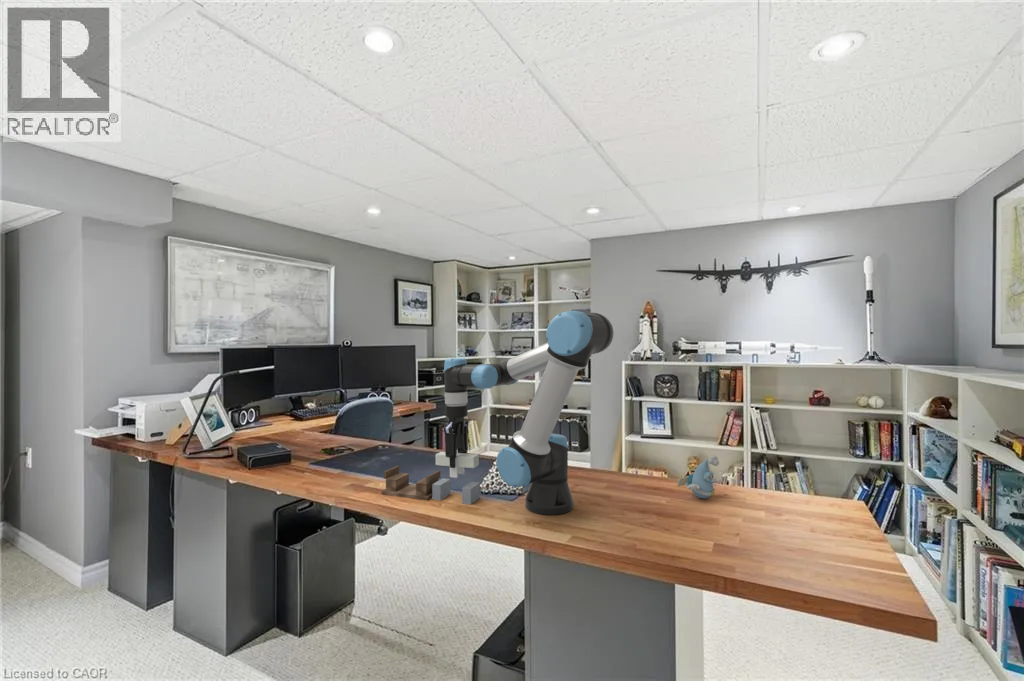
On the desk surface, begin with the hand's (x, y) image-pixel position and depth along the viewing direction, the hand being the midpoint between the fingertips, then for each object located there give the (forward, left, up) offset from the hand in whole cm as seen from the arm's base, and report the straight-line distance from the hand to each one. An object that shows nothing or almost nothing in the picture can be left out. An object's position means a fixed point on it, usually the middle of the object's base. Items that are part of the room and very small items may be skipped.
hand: (457, 475), depth 155 cm
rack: (+18, 0, -8) cm, 19 cm away
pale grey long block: (0, 0, +3) cm, 3 cm away
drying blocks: (+1, 0, -8) cm, 8 cm away
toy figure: (-76, -30, -8) cm, 83 cm away
